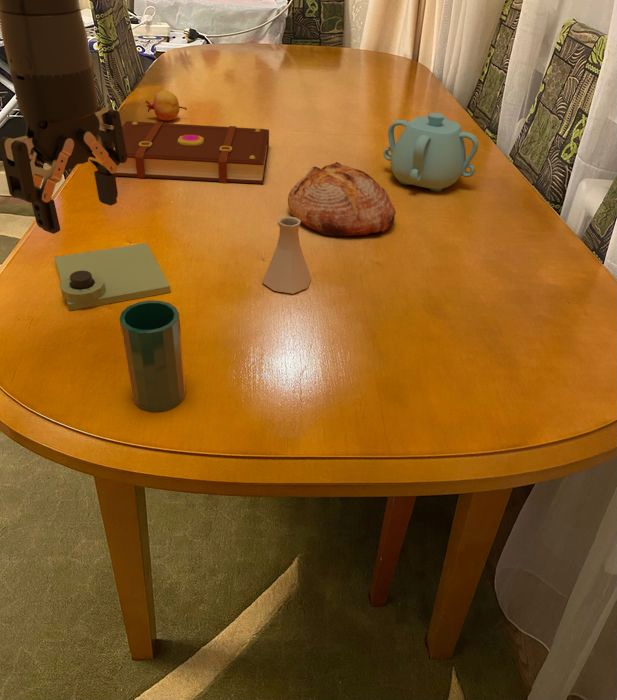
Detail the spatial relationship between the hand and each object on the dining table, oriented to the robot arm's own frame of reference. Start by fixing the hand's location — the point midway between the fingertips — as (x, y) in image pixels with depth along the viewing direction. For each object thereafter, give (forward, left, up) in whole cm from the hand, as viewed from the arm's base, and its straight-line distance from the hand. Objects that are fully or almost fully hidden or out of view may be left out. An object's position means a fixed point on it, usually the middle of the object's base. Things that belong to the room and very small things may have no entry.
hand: (80, 216), depth 68 cm
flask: (+28, +4, -17) cm, 33 cm away
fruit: (+31, +85, -17) cm, 92 cm away
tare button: (-1, +10, -14) cm, 17 cm away
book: (+29, +57, -17) cm, 66 cm away
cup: (+4, -14, -17) cm, 22 cm away
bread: (+46, +21, -17) cm, 53 cm away
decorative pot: (+72, +32, -17) cm, 80 cm away
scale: (+4, +14, -17) cm, 22 cm away
